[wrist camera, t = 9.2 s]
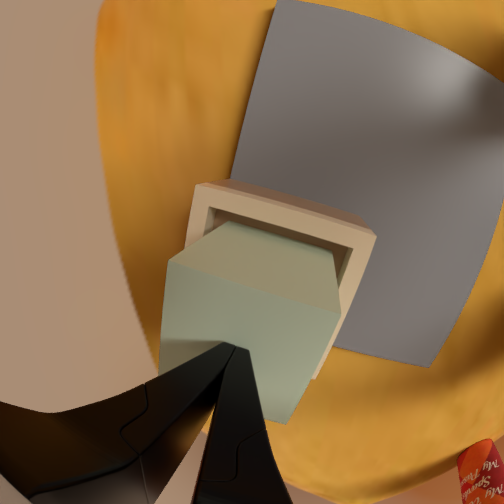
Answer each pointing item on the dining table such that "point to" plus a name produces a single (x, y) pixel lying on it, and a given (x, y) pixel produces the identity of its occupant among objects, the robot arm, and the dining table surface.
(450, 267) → the board
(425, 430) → the dining table surface
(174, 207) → the dining table surface
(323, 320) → the green block
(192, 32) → the dining table surface
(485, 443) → the paper cup
